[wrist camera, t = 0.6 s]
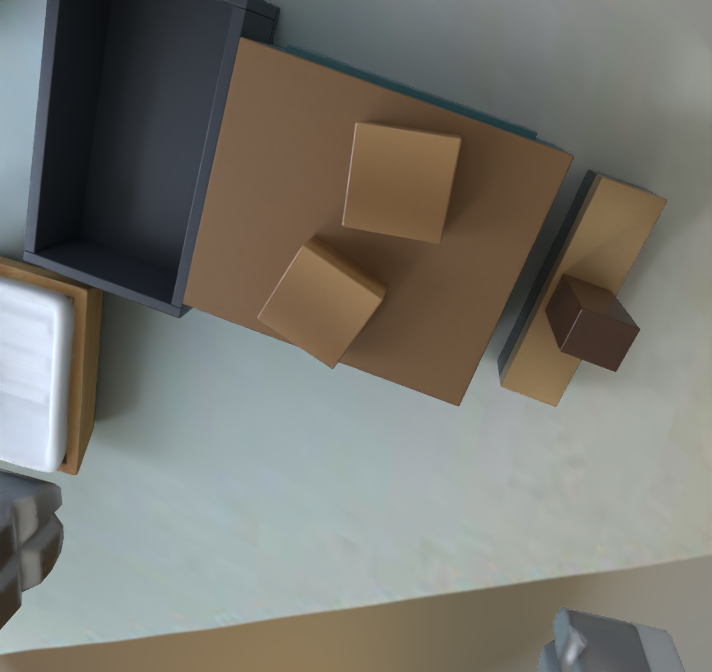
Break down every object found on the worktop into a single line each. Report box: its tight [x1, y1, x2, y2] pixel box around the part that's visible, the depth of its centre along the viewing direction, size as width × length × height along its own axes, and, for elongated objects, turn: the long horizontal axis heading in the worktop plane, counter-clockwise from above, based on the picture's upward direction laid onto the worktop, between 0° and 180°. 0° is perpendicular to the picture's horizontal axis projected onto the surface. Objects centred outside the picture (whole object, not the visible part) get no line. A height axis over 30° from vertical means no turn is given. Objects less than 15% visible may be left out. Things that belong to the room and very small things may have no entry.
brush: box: [498, 169, 667, 407], centre depth 27 cm, size 11×3×8 cm, turn 162°
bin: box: [23, 0, 280, 318], centre depth 30 cm, size 15×9×4 cm, turn 162°
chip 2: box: [342, 120, 462, 244], centre depth 24 cm, size 4×4×2 cm
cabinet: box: [183, 37, 574, 406], centre depth 29 cm, size 12×14×6 cm
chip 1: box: [257, 235, 388, 369], centre depth 26 cm, size 4×4×2 cm
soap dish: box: [0, 256, 103, 475], centre depth 36 cm, size 12×10×5 cm
